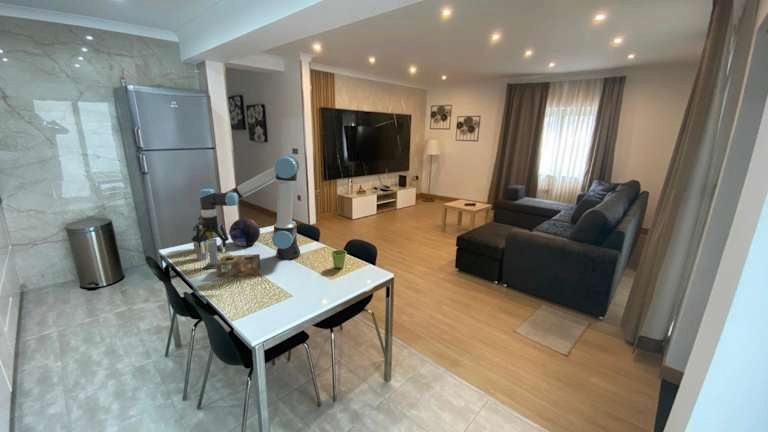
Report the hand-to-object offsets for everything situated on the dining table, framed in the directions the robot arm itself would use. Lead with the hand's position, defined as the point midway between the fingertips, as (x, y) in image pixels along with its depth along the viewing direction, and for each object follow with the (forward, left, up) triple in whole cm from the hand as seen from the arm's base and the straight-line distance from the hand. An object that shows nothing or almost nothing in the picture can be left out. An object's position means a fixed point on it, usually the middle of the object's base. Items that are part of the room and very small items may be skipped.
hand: (213, 252), depth 179 cm
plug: (0, 0, -8) cm, 8 cm away
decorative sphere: (-9, -37, -9) cm, 39 cm away
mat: (0, 0, -8) cm, 8 cm away
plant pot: (-73, +11, -9) cm, 74 cm away
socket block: (-17, +12, -8) cm, 22 cm away
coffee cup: (+11, -13, -8) cm, 19 cm away
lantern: (+14, -30, -9) cm, 34 cm away
